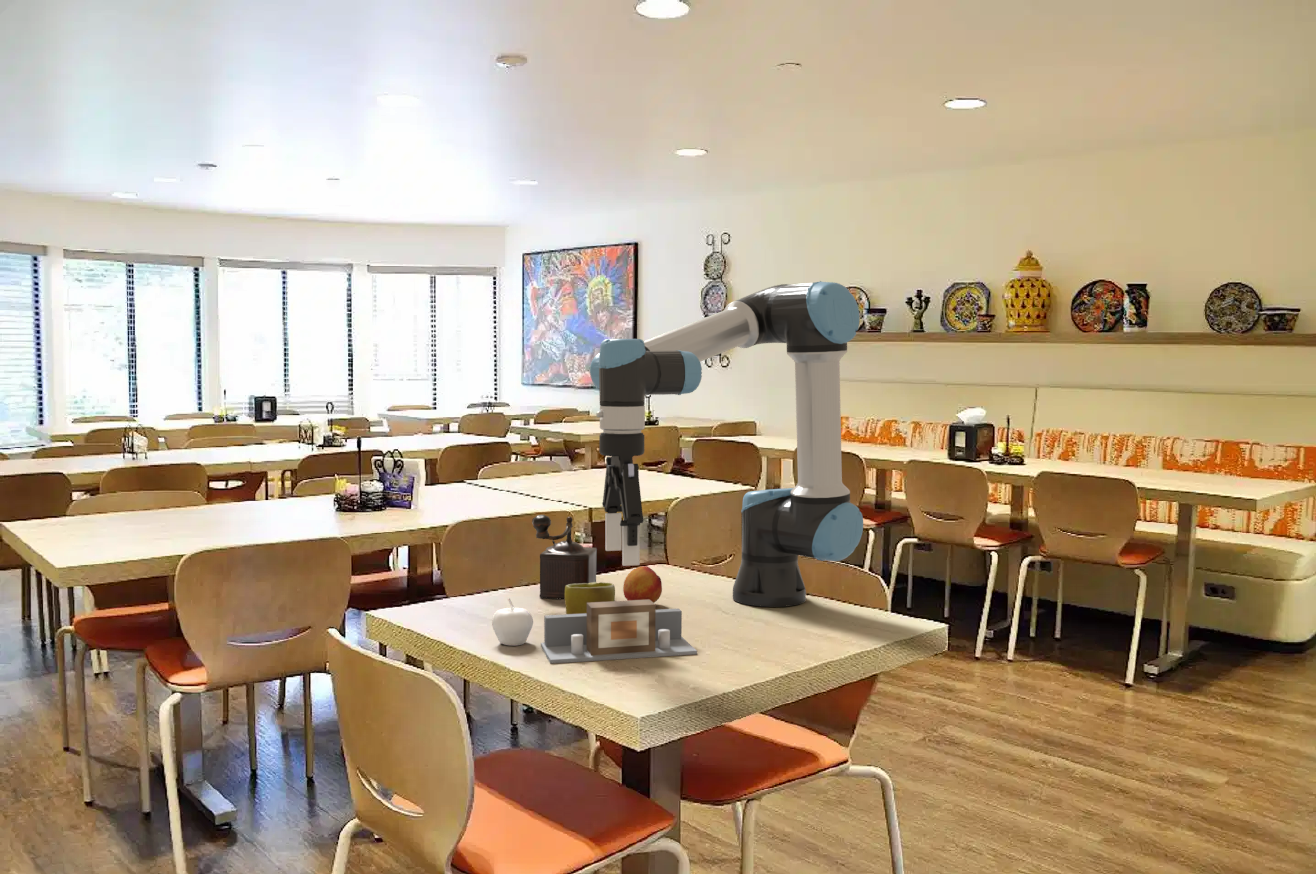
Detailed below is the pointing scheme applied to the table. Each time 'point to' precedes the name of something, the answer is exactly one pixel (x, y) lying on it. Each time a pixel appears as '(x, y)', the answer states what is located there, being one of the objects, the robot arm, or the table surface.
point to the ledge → (570, 645)
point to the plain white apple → (512, 625)
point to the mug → (587, 595)
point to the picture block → (620, 627)
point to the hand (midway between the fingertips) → (621, 557)
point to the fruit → (642, 585)
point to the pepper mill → (563, 561)
